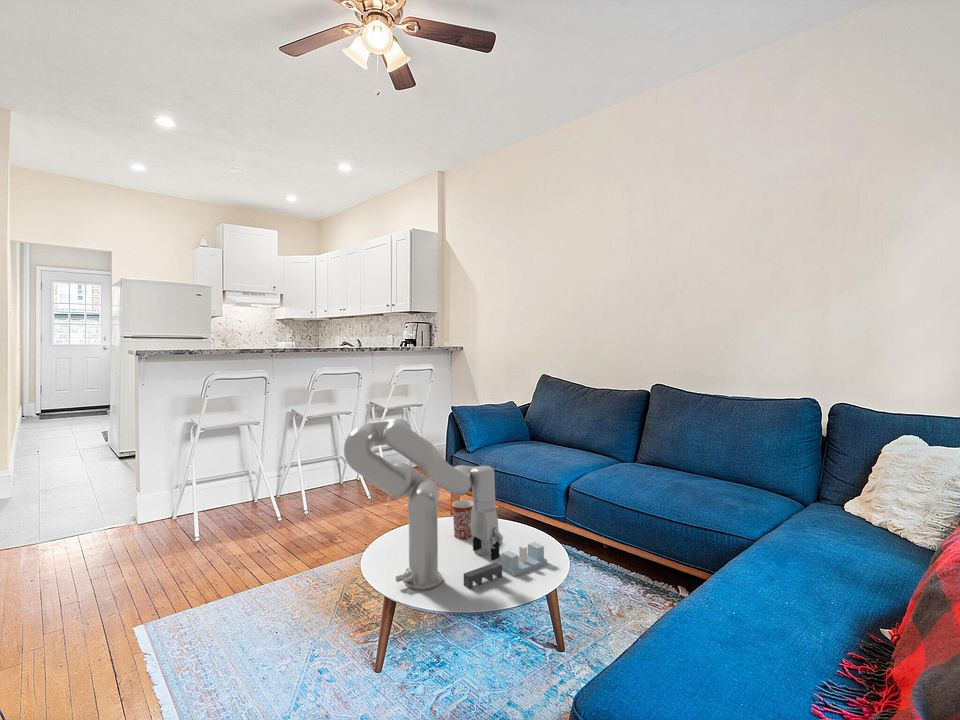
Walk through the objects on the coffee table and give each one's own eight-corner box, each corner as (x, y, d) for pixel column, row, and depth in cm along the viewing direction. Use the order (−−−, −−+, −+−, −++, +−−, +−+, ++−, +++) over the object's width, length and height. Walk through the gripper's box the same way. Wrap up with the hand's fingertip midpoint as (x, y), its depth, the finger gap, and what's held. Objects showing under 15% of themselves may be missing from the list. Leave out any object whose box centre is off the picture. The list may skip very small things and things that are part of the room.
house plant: (452, 555, 187) (452, 512, 186) (470, 542, 199) (470, 501, 198) (486, 563, 180) (486, 518, 179) (502, 549, 192) (502, 507, 192)
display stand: (513, 576, 170) (513, 556, 170) (498, 568, 176) (498, 548, 176) (547, 563, 180) (547, 544, 179) (531, 556, 186) (531, 537, 186)
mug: (450, 540, 201) (450, 507, 200) (453, 531, 210) (453, 499, 209) (482, 540, 200) (482, 507, 200) (483, 531, 209) (483, 500, 209)
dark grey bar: (468, 589, 162) (468, 576, 162) (463, 585, 164) (463, 573, 164) (502, 576, 170) (502, 565, 170) (496, 573, 173) (496, 561, 172)
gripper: (460, 500, 171) (462, 549, 171) (491, 513, 157) (493, 566, 158) (477, 495, 175) (479, 543, 176) (509, 507, 161) (511, 559, 162)
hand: (486, 554), depth 167 cm, fingers open, 9 cm apart
